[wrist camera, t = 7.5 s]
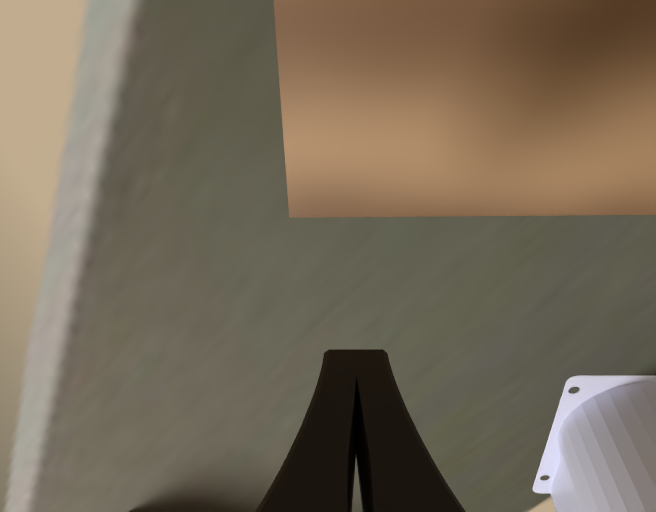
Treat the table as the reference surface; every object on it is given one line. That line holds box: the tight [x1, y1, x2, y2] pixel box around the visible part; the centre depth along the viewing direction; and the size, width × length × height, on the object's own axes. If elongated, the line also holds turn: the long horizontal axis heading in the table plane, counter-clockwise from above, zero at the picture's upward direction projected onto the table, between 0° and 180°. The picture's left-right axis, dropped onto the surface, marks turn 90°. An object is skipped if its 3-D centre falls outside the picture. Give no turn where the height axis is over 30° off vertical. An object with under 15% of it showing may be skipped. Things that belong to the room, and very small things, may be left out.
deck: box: [273, 0, 656, 218], centre depth 16 cm, size 11×14×3 cm
